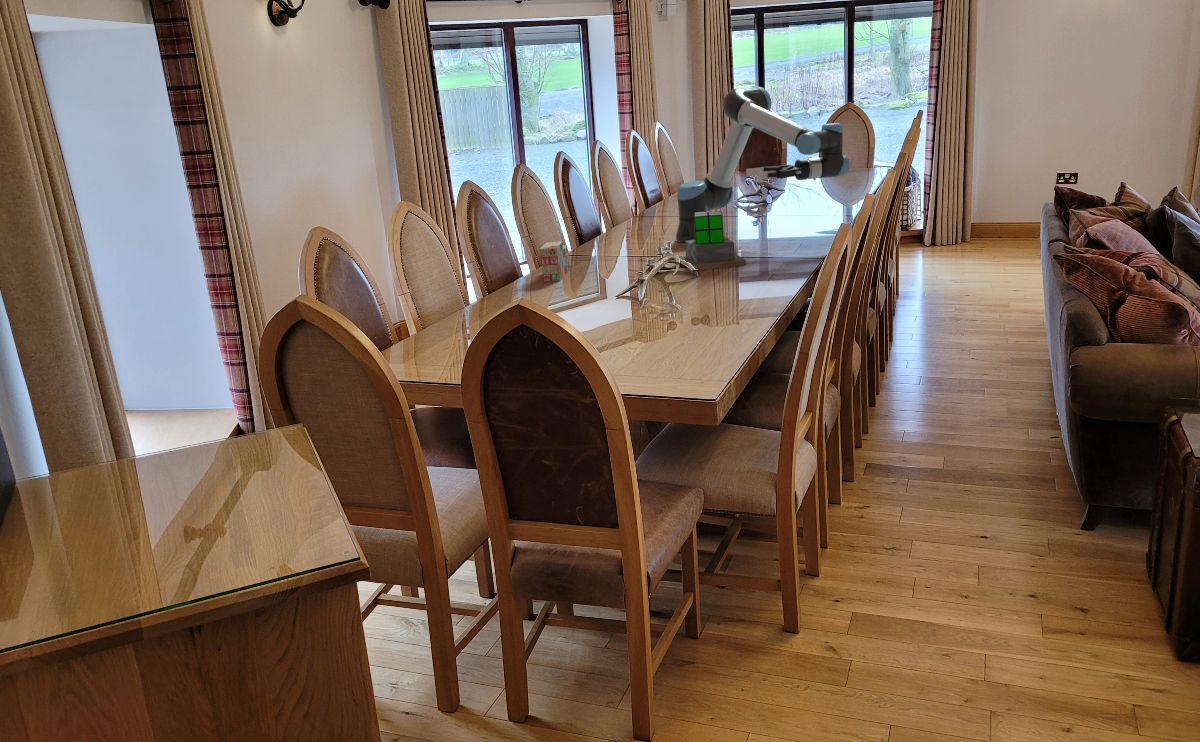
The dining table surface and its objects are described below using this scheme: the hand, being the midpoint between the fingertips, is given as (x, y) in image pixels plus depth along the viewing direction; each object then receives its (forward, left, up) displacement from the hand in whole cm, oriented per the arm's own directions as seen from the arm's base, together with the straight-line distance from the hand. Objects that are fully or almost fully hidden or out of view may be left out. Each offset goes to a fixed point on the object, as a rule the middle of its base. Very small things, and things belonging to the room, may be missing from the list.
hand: (752, 174), depth 344 cm
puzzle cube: (+12, -21, -21) cm, 32 cm away
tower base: (+12, -21, -29) cm, 38 cm away
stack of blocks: (+1, -76, -29) cm, 81 cm away
